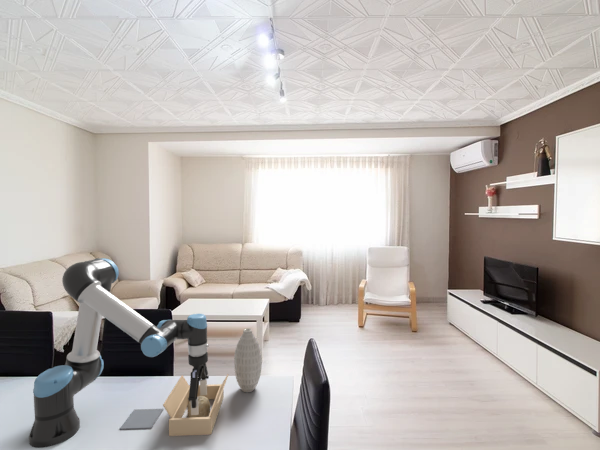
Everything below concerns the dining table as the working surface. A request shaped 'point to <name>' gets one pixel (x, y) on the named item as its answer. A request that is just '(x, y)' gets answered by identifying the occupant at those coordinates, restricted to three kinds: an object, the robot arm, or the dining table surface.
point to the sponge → (200, 407)
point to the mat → (142, 419)
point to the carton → (179, 403)
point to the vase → (247, 361)
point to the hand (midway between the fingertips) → (199, 404)
